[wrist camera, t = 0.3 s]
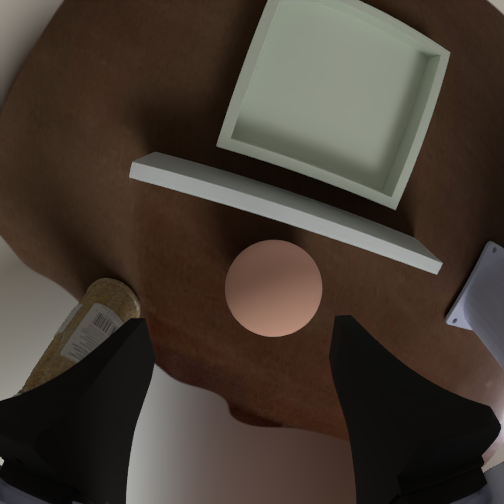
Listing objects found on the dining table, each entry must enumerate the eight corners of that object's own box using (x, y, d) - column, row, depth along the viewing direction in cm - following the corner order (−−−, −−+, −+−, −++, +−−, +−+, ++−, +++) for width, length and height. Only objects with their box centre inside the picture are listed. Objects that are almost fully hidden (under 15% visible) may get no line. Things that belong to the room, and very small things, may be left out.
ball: (326, 240, 20) (349, 284, 15) (294, 310, 22) (305, 364, 17) (242, 214, 19) (240, 253, 14) (218, 289, 22) (209, 343, 17)
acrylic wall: (414, 237, 20) (442, 263, 16) (409, 247, 20) (436, 274, 17) (155, 151, 18) (132, 161, 14) (152, 164, 18) (129, 177, 14)
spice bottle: (79, 281, 21) (-17, 414, 9) (128, 270, 21) (36, 425, 9) (104, 329, 23) (36, 467, 11) (152, 322, 23) (96, 480, 11)
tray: (434, 55, 15) (450, 52, 13) (382, 200, 19) (395, 210, 17) (277, -16, 13) (280, -29, 12) (219, 143, 18) (216, 146, 16)
